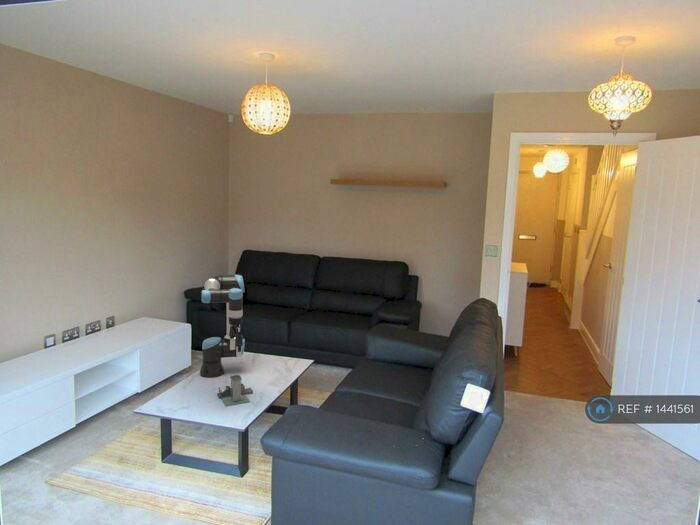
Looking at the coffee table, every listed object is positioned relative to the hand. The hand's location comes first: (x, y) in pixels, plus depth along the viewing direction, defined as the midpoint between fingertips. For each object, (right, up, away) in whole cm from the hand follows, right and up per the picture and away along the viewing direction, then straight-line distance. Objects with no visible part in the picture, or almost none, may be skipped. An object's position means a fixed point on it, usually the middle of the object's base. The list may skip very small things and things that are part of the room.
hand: (235, 353), depth 277 cm
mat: (-1, -28, +4) cm, 28 cm away
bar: (-1, -28, +4) cm, 28 cm away
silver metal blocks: (-3, -27, +13) cm, 30 cm away
